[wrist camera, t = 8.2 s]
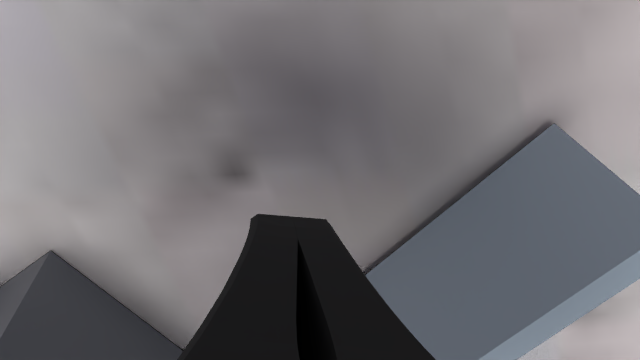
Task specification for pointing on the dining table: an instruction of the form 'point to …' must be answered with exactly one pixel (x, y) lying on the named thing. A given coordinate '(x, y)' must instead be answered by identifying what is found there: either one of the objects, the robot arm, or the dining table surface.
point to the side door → (517, 255)
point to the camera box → (71, 319)
